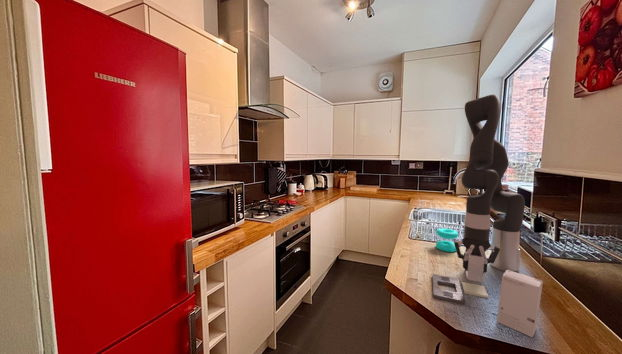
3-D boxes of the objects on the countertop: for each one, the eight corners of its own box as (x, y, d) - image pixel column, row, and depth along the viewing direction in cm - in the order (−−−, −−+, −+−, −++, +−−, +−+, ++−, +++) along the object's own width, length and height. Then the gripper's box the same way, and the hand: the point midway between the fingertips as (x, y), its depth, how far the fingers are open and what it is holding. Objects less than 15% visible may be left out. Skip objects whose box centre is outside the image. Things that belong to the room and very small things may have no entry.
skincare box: (496, 322, 71) (499, 274, 69) (502, 313, 74) (505, 268, 73) (535, 339, 64) (539, 286, 63) (539, 329, 68) (543, 279, 66)
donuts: (432, 228, 128) (446, 226, 131) (431, 246, 129) (445, 244, 132) (448, 234, 118) (463, 232, 122) (447, 254, 119) (462, 251, 122)
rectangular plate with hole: (458, 281, 93) (458, 278, 93) (464, 304, 79) (464, 300, 79) (432, 276, 97) (432, 273, 97) (433, 297, 83) (433, 294, 83)
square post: (480, 276, 88) (481, 252, 87) (482, 282, 84) (484, 256, 83) (465, 273, 90) (467, 250, 89) (467, 279, 86) (468, 254, 85)
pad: (483, 288, 89) (483, 286, 89) (488, 298, 82) (488, 296, 82) (461, 283, 92) (461, 281, 92) (464, 293, 85) (464, 291, 85)
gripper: (499, 225, 85) (495, 270, 87) (452, 220, 91) (450, 263, 93) (505, 231, 78) (501, 280, 80) (454, 225, 85) (452, 271, 86)
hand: (474, 271), depth 86 cm, fingers closed on square post, 4 cm apart
